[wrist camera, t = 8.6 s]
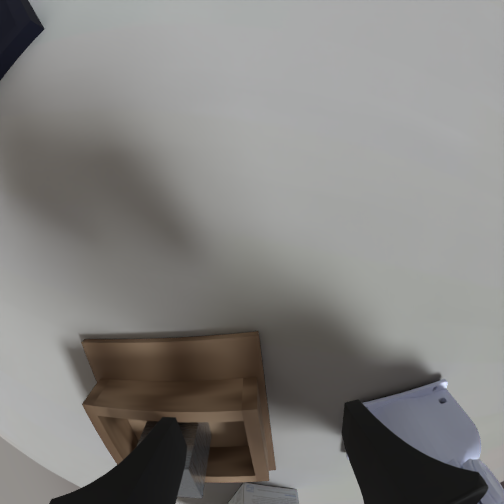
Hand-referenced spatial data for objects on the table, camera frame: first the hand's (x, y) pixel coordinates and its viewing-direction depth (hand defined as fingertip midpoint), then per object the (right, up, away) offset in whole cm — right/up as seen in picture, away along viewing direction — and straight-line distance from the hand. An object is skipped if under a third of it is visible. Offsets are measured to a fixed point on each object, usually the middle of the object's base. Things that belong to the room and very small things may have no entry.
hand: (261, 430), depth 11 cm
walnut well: (-6, -7, +11) cm, 14 cm away
